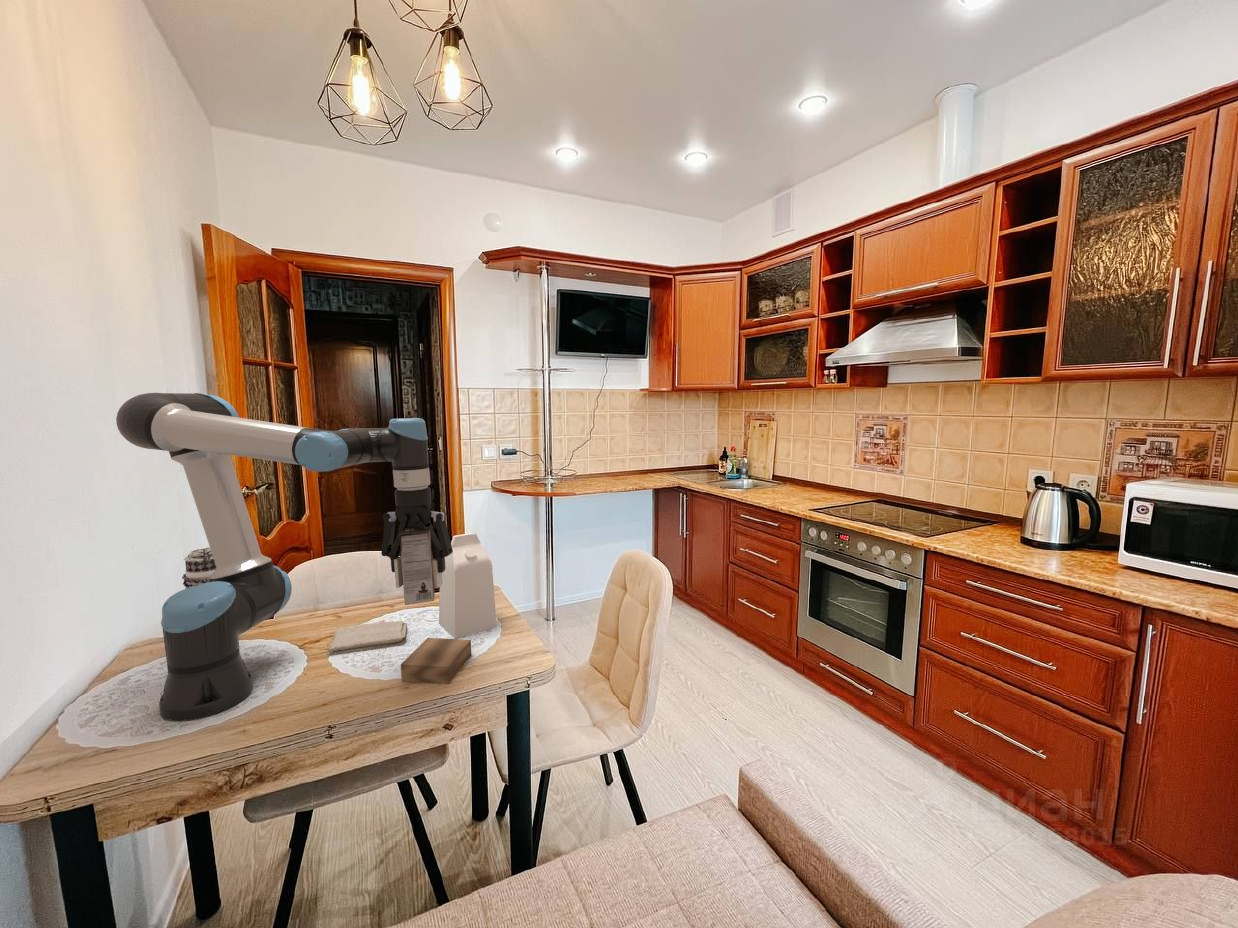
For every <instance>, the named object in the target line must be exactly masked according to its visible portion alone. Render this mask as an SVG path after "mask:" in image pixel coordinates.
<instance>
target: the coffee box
mask: <svg viewBox="0 0 1238 928" xmlns="http://www.w3.org/2000/svg"><path fill="white" fill-rule="evenodd" d="M426 528H427V527H426ZM399 537H400V550H401V552H400V554H401V555H400V556H401V563H402V575H403V585H402V588H403V597H404V598H403V599H404V601H403V602H404V605H405V606H408V605H409V606H410V605H417V604H422V603H423V604H424V603H430V602H435V591H436V590H435V589H436V588H434V576H433V561H432V560H433V559H434V557H433V555H434V554H433V552H432V550H431V534H430V528H429V529H427V530H420V529H407V528H405V529H404V530H401V531H400V534H399Z"/></svg>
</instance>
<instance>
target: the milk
mask: <svg viewBox="0 0 1238 928" xmlns="http://www.w3.org/2000/svg"><path fill="white" fill-rule="evenodd" d="M450 542H451V545H452V549H453V553H451V554H450V555H449V556H447V557H445V571H444V572H442V578H443V584H442V585H441V586H440V587H439V602H438V607H439V608H438V625H439V624H440V625H439V626H440V627H441V626H442V627H443V628H444V631H446V632H447V633H448V634H449V635H450V636H451V637H452V639H460V638H463V637H466V636H469V635H472V634H475V633H479V632H483V631H486V630H489V629H493V628H497V627H498V624H497V614H496V613H497V612H496V601H495V585H494V584H495V583H494V573H493V562H492V560H491V558H490V556H489V554H488V552H487V550H486V549H485V548H484V545H483V544H482V543H481V541H480V538H479V537H478V535H477V533H475V532H469V533H462V534H457V535H453V537H452V540H451V541H450ZM442 627H441V628H442ZM443 628H442V629H443Z"/></svg>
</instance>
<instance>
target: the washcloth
mask: <svg viewBox="0 0 1238 928" xmlns="http://www.w3.org/2000/svg"><path fill="white" fill-rule="evenodd" d="M407 626H408V623H407V622H404V621H403V620H397V621H385V620H380V621H378V622H377V621H376V622H372V623H363V624H355V625H351V626H342V627H340V628H338V629H336V630H335V632H333V636H332V637H333V640H332V641H331V643H330V645H329V648H328V654H329V656H334V655H335V656H336V655H340V654H348V653H355V652H354V651H356V652H361V651H360V650H364V651H368V650H367V649H369V650H374V649H380V648H381V647H382V648H390V647H396V645H398V646H402V645H404V643H405V640H406V637H407V635H406V634H407V628H408V627H407Z"/></svg>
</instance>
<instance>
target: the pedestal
mask: <svg viewBox="0 0 1238 928" xmlns="http://www.w3.org/2000/svg"><path fill="white" fill-rule="evenodd" d="M470 657H472V639H460V638H456V639H454V638H441V637H440V638H438V637H427V638H426V639H425V640H424V641H423V642H422V643H421V644H420V645H418V647H417V648H416V649H415V650H414V651H413V652H412V653H410V654H409V656H408V657H407V658H406V659H404V660H403V662H402V663H400V673H401V674H400V675H401V677H400V679H401V682H406V683H410V682H411V683H427V684H440V685H441V684H443V685H445V684H446V685H449V684H450V683H451V682H452V681H453V680H454V679H455V677H456V676H457V675H458V673H459V672H460V671H461V669H462V668H463V667H464V666H465V664H466V663H467V662H468V660H469V659H470Z"/></svg>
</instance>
